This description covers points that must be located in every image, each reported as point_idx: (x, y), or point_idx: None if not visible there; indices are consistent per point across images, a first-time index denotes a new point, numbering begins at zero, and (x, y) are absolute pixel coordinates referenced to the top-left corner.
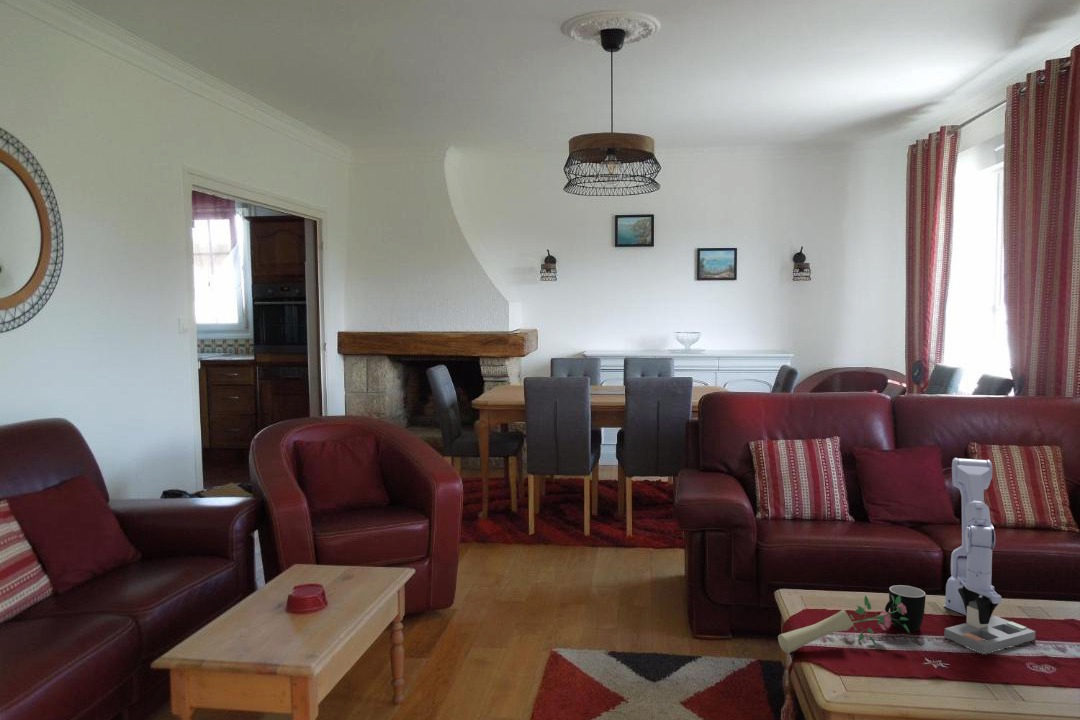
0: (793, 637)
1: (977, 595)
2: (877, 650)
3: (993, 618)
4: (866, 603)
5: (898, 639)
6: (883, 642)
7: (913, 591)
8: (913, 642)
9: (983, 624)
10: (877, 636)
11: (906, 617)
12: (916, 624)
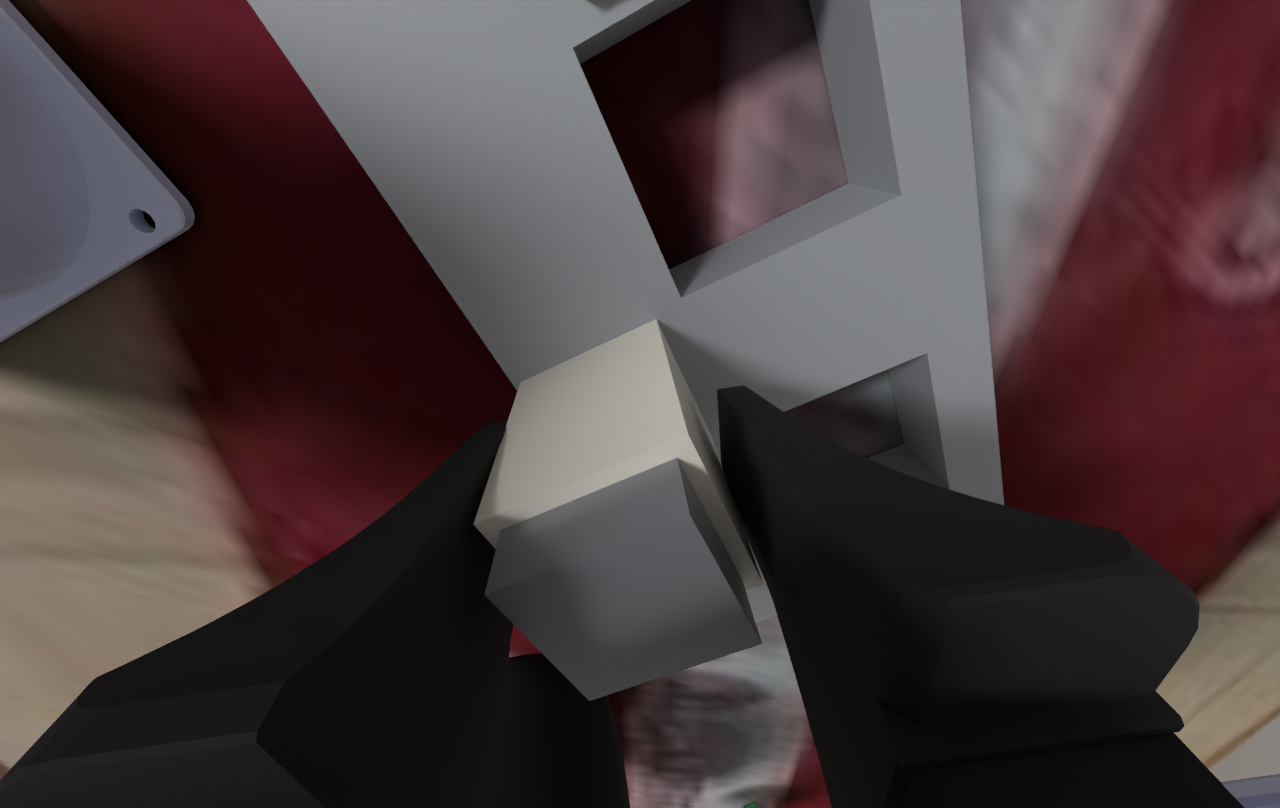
0: None
1: (392, 639)
2: (790, 803)
3: (377, 93)
4: None
5: (695, 743)
6: (722, 782)
7: None
8: (733, 710)
9: (691, 399)
10: (661, 787)
11: None
12: (617, 732)
